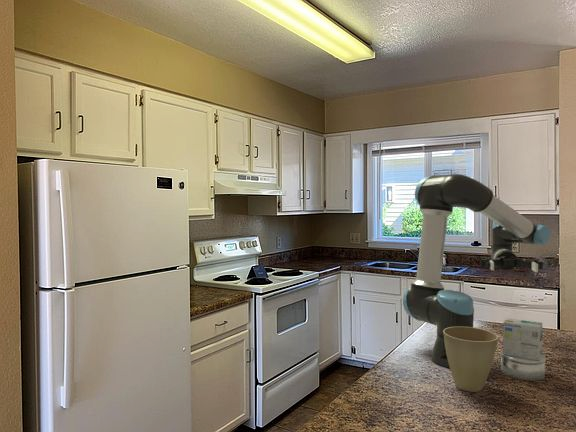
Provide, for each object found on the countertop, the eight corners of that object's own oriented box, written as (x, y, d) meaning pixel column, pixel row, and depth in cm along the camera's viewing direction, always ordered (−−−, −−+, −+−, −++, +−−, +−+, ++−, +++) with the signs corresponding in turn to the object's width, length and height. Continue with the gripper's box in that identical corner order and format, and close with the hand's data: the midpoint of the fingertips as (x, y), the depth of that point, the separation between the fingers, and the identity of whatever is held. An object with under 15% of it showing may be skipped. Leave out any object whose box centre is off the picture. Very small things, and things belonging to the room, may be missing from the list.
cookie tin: (507, 380, 137) (507, 361, 137) (494, 365, 150) (494, 347, 150) (552, 383, 135) (553, 363, 135) (536, 367, 148) (536, 349, 148)
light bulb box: (542, 355, 142) (543, 321, 142) (540, 361, 137) (541, 326, 136) (505, 349, 148) (506, 316, 148) (502, 354, 143) (502, 321, 142)
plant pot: (464, 400, 123) (464, 343, 122) (432, 379, 137) (433, 328, 136) (509, 394, 126) (510, 338, 126) (474, 374, 141) (474, 324, 140)
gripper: (541, 270, 170) (555, 280, 149) (470, 267, 177) (475, 276, 157) (541, 251, 169) (556, 257, 149) (471, 249, 177) (475, 255, 157)
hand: (514, 267), depth 153 cm, fingers open, 13 cm apart
